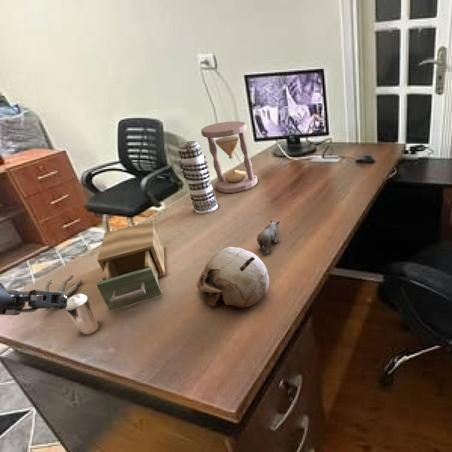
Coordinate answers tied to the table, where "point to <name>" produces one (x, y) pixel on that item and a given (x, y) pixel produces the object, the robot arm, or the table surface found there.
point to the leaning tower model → (197, 177)
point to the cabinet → (132, 244)
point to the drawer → (129, 280)
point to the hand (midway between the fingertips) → (41, 306)
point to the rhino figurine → (268, 236)
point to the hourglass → (230, 155)
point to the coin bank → (233, 278)
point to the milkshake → (81, 313)
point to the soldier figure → (62, 287)
